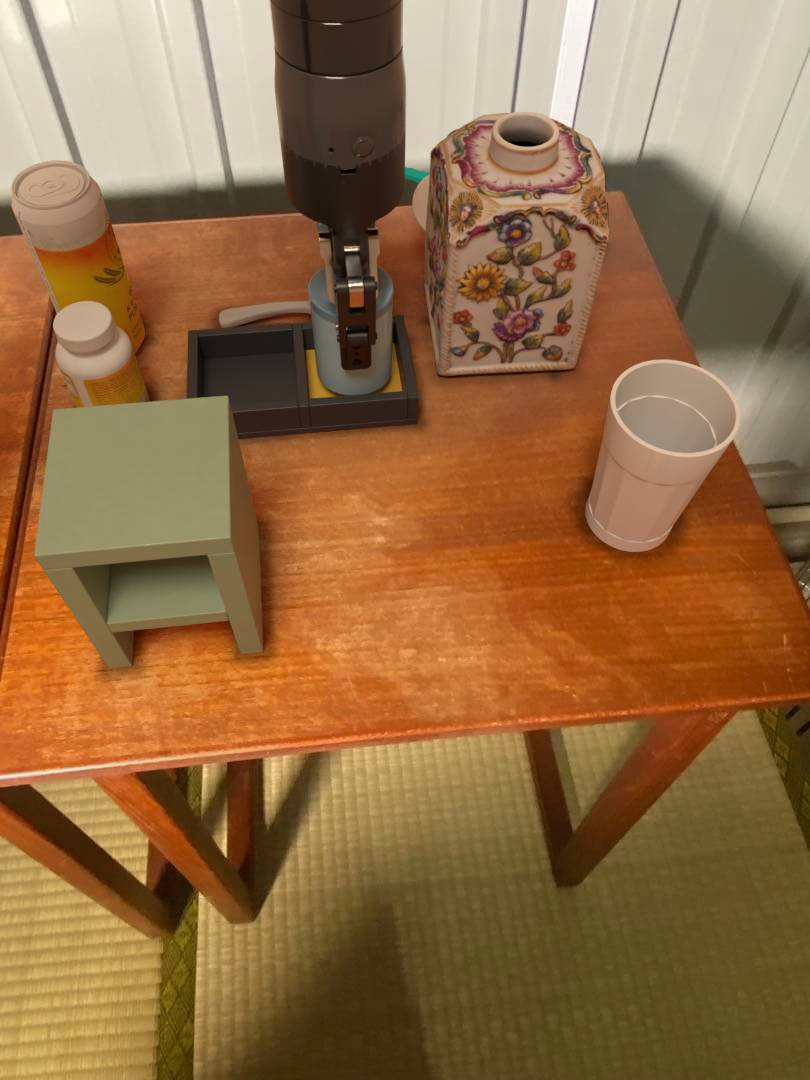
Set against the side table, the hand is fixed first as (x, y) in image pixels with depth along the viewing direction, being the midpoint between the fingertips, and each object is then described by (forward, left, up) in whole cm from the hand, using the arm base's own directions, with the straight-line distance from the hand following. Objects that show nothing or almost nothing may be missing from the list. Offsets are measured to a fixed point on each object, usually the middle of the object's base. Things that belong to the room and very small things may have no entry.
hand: (352, 333), depth 64 cm
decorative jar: (+13, +5, -6) cm, 15 cm away
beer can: (-20, +7, -6) cm, 22 cm away
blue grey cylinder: (0, 0, -4) cm, 4 cm away
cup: (+19, -15, -6) cm, 25 cm away
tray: (-4, 0, -6) cm, 7 cm away
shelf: (-13, -18, -6) cm, 23 cm away
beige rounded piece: (+9, +13, +1) cm, 16 cm away
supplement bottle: (-19, -1, -6) cm, 20 cm away
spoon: (-5, +9, -6) cm, 12 cm away
